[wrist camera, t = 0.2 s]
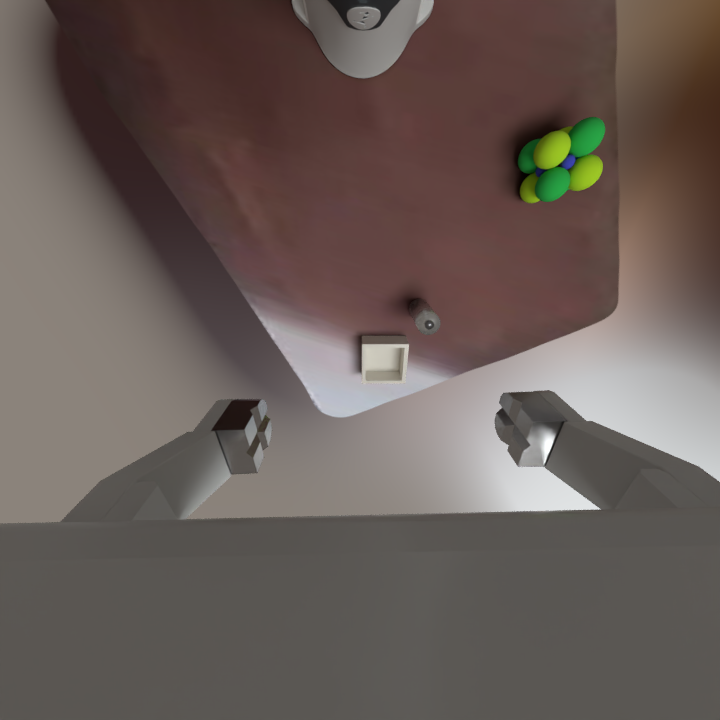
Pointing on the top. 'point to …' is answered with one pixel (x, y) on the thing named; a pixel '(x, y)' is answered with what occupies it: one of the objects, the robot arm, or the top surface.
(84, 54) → the top surface
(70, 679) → the robot arm
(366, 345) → the cream square tray
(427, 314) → the cylinder
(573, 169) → the molecule model
